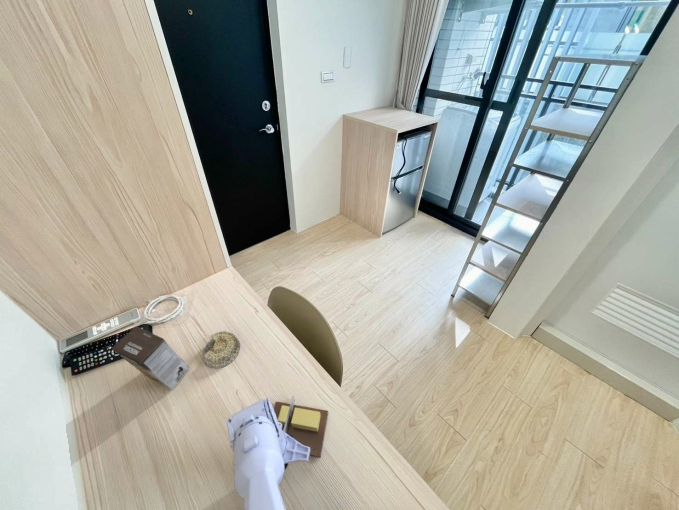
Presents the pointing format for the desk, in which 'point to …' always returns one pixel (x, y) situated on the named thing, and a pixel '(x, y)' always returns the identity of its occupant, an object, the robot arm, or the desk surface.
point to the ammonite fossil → (221, 350)
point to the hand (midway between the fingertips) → (278, 455)
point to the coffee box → (152, 357)
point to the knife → (289, 414)
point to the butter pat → (283, 414)
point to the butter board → (303, 435)
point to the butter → (306, 419)
